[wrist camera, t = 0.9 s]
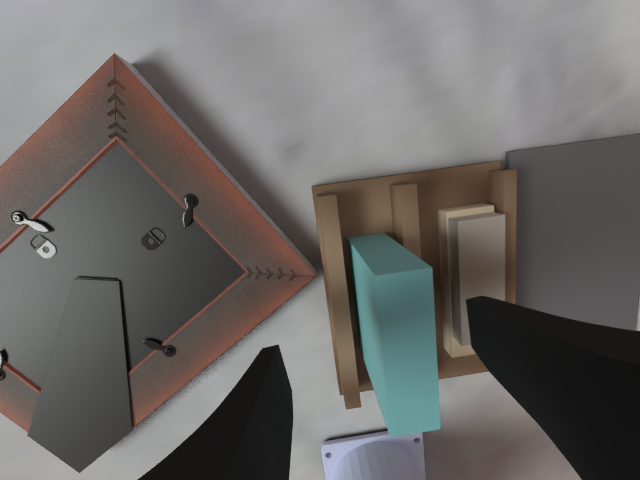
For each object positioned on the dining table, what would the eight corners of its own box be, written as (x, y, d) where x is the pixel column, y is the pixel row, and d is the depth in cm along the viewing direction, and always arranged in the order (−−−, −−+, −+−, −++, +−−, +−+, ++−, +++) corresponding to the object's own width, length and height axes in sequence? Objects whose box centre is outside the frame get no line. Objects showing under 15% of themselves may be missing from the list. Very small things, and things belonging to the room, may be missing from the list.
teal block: (393, 343, 22) (440, 429, 15) (359, 348, 22) (390, 437, 14) (383, 232, 20) (432, 267, 13) (347, 237, 20) (374, 276, 13)
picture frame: (101, 443, 24) (315, 265, 22) (79, 474, 22) (316, 277, 20) (-96, 293, 21) (136, 67, 19) (-150, 309, 18) (112, 51, 16)
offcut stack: (484, 341, 22) (506, 361, 20) (444, 347, 22) (460, 368, 20) (482, 203, 20) (507, 207, 18) (437, 209, 20) (455, 214, 18)
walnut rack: (492, 361, 24) (519, 387, 21) (338, 385, 23) (344, 416, 21) (491, 161, 21) (522, 160, 18) (311, 186, 20) (313, 188, 17)
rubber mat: (628, 345, 24) (633, 347, 24) (505, 365, 24) (508, 368, 24) (650, 132, 21) (656, 131, 20) (505, 151, 20) (509, 151, 20)
